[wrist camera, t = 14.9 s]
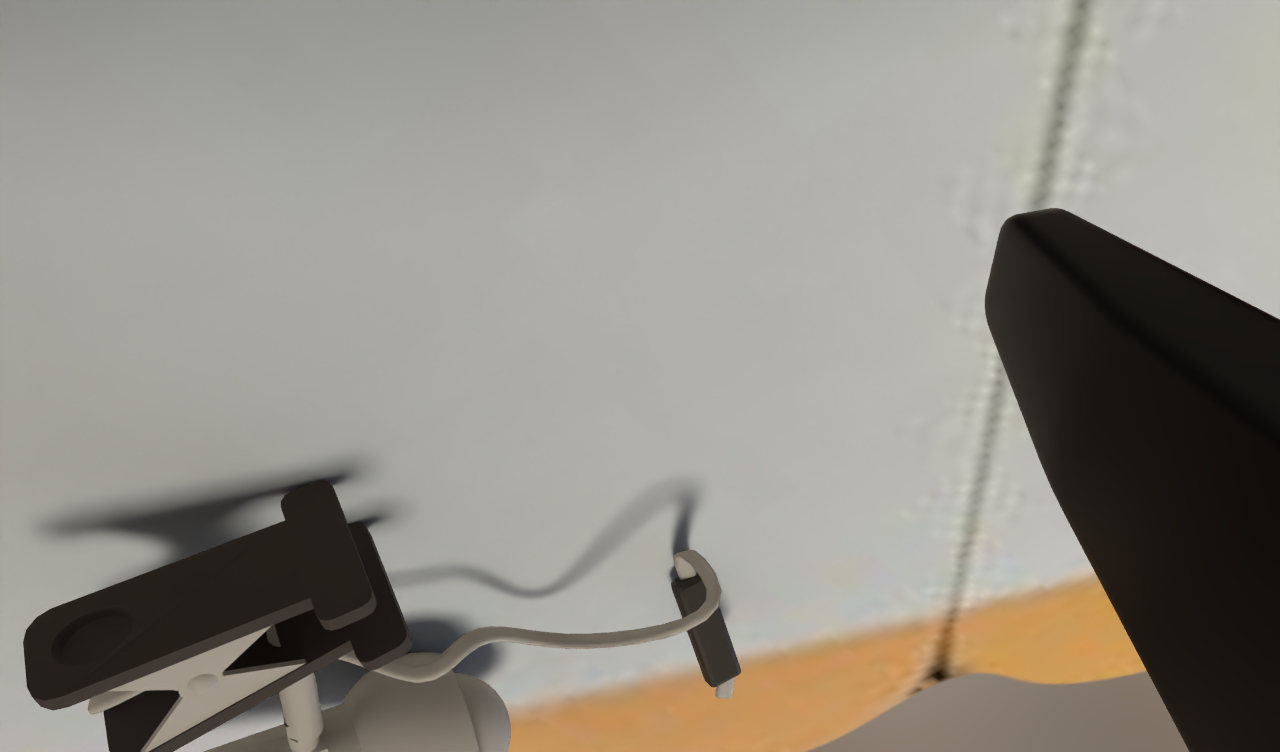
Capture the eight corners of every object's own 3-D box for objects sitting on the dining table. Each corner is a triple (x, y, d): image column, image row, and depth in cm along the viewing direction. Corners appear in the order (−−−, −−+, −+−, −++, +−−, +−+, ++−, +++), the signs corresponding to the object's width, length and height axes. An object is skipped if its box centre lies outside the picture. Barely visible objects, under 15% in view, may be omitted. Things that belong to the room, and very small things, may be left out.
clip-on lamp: (706, 367, 33) (4, 543, 26) (827, 519, 28) (21, 777, 21) (671, 632, 40) (117, 822, 33) (762, 784, 36) (147, 1039, 29)
